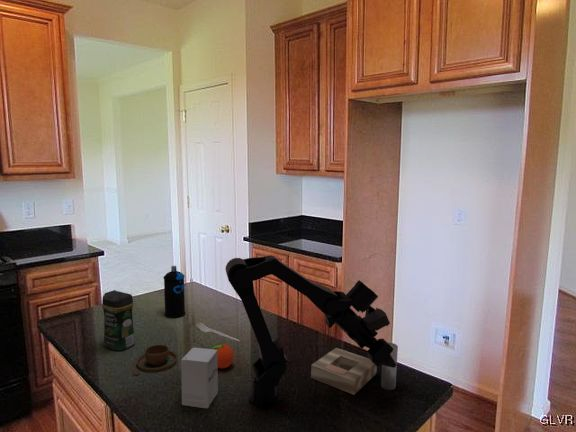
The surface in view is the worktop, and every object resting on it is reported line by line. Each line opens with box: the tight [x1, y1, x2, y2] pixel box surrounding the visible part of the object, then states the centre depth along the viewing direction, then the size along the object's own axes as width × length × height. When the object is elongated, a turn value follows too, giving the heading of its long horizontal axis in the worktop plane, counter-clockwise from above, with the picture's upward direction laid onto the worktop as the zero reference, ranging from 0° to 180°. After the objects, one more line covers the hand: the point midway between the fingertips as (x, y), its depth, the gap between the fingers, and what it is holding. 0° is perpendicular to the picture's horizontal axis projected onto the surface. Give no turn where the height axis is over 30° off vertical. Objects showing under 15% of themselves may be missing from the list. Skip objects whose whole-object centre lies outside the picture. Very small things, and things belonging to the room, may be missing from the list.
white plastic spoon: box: [196, 322, 240, 342], centre depth 149 cm, size 3×20×2 cm, turn 56°
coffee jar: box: [101, 289, 136, 352], centre depth 138 cm, size 10×8×19 cm
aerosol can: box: [162, 265, 186, 319], centre depth 165 cm, size 8×8×20 cm
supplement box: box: [180, 347, 219, 409], centre depth 108 cm, size 7×7×13 cm
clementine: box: [210, 343, 235, 369], centre depth 125 cm, size 8×7×7 cm
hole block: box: [310, 347, 378, 396], centre depth 121 cm, size 14×14×4 cm
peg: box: [380, 342, 399, 391], centre depth 116 cm, size 4×4×12 cm
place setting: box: [129, 344, 178, 376], centre depth 125 cm, size 18×20×6 cm
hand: (387, 358), depth 115 cm, fingers open, 9 cm apart
